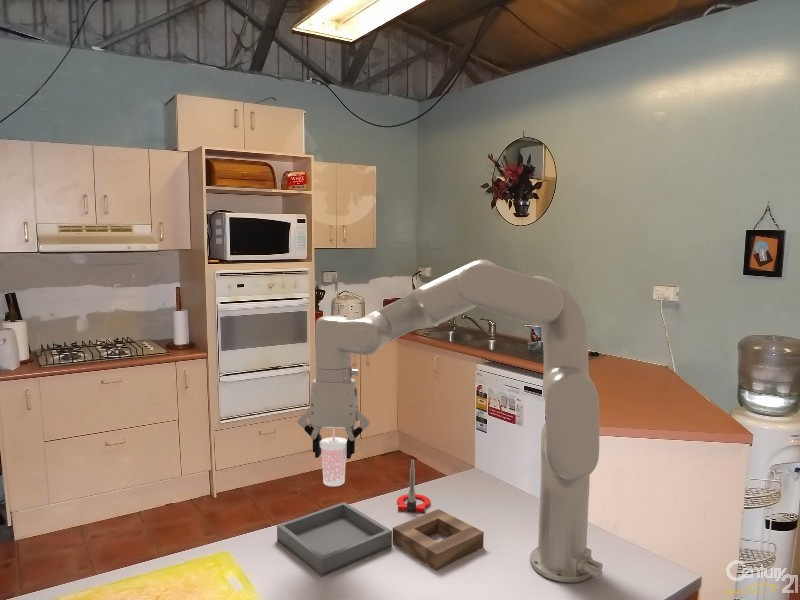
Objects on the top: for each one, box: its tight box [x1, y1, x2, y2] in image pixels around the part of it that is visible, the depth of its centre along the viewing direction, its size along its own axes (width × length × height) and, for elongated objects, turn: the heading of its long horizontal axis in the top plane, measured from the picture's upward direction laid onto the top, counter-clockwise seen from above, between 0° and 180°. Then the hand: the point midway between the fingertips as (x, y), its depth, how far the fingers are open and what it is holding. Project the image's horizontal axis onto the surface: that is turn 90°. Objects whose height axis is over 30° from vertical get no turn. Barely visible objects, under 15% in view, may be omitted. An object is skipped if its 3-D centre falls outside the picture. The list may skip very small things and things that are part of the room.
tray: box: [276, 501, 393, 578], centre depth 127 cm, size 18×18×4 cm
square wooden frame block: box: [392, 508, 484, 572], centre depth 126 cm, size 14×14×4 cm
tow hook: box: [396, 459, 431, 514], centre depth 146 cm, size 8×13×9 cm
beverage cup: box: [320, 428, 348, 487], centre depth 125 cm, size 6×6×14 cm
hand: (333, 455), depth 125 cm, fingers closed on beverage cup, 6 cm apart
